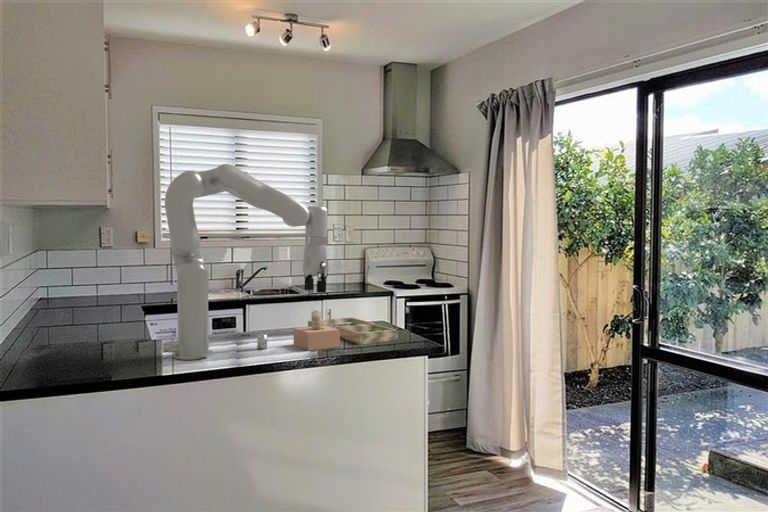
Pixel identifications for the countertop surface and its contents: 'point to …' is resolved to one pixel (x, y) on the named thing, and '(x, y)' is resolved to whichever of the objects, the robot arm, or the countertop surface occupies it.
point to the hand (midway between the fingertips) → (315, 291)
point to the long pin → (316, 320)
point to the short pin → (261, 341)
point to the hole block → (316, 338)
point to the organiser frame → (361, 330)
